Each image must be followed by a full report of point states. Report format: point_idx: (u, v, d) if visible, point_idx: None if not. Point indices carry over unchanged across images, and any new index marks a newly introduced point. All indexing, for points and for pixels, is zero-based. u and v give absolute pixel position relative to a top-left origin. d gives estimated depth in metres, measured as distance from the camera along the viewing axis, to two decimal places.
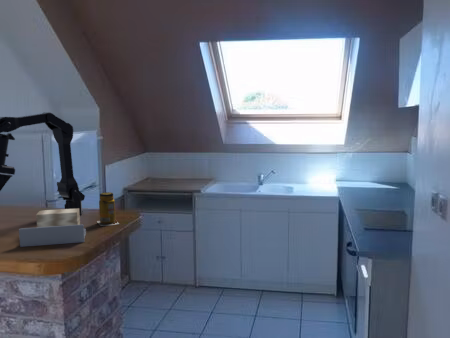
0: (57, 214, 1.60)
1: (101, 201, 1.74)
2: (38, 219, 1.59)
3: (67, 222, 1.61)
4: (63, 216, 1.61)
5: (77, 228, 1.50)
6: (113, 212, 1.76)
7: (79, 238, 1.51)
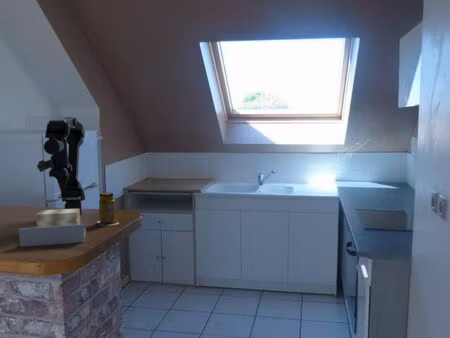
0: (56, 214, 1.60)
1: (101, 201, 1.74)
2: (38, 219, 1.59)
3: (67, 222, 1.61)
4: (63, 216, 1.61)
5: (77, 228, 1.50)
6: (113, 212, 1.76)
7: (79, 238, 1.51)
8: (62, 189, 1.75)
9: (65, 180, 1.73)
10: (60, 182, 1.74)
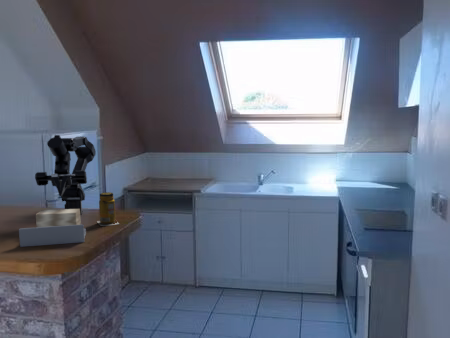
0: (56, 214, 1.60)
1: (101, 201, 1.74)
2: (37, 219, 1.60)
3: (66, 222, 1.61)
4: (62, 216, 1.60)
5: (77, 228, 1.50)
6: (113, 212, 1.76)
7: (79, 238, 1.51)
8: None
9: (55, 183, 1.71)
10: (57, 188, 1.72)
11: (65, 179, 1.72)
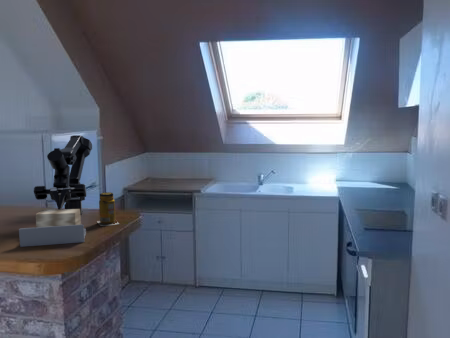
0: (56, 214, 1.60)
1: (101, 201, 1.74)
2: (37, 218, 1.60)
3: (66, 222, 1.61)
4: (61, 216, 1.60)
5: (77, 228, 1.50)
6: (113, 212, 1.76)
7: (79, 238, 1.51)
8: None
9: (54, 197, 1.68)
10: (56, 202, 1.69)
11: (64, 193, 1.69)
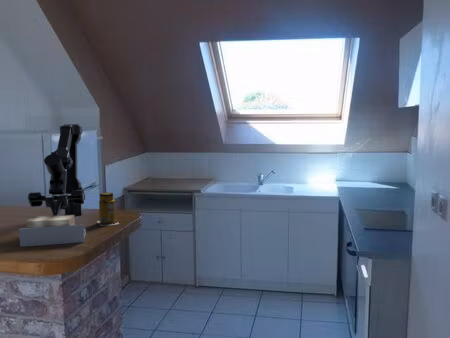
0: (48, 221, 1.50)
1: (101, 201, 1.74)
2: (28, 226, 1.50)
3: None
4: (54, 223, 1.50)
5: (77, 228, 1.50)
6: (113, 212, 1.76)
7: (79, 238, 1.51)
8: (53, 215, 1.57)
9: (49, 204, 1.58)
10: None
11: (60, 200, 1.59)
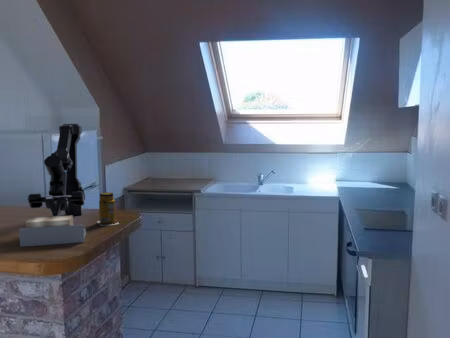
0: (48, 222, 1.49)
1: (101, 201, 1.74)
2: (28, 227, 1.48)
3: None
4: (55, 224, 1.50)
5: (77, 228, 1.50)
6: (113, 212, 1.76)
7: (79, 238, 1.51)
8: None
9: (50, 206, 1.58)
10: None
11: (60, 201, 1.58)
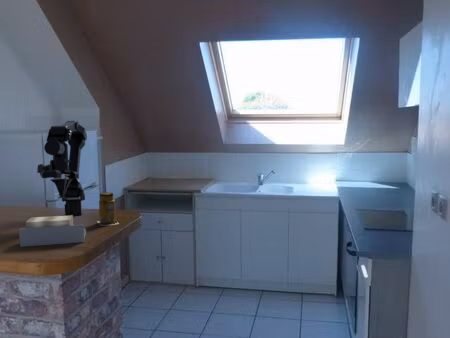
0: (48, 222, 1.49)
1: (101, 201, 1.74)
2: (28, 227, 1.48)
3: None
4: (54, 224, 1.50)
5: (77, 228, 1.50)
6: (113, 212, 1.76)
7: (79, 238, 1.51)
8: (61, 194, 1.73)
9: (63, 185, 1.72)
10: (58, 187, 1.72)
11: (69, 182, 1.75)
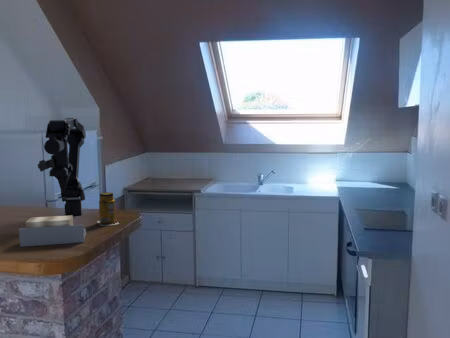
0: (48, 222, 1.49)
1: (101, 201, 1.74)
2: (28, 227, 1.48)
3: None
4: (54, 224, 1.50)
5: (77, 228, 1.50)
6: (113, 212, 1.76)
7: (79, 238, 1.51)
8: (62, 189, 1.76)
9: (65, 180, 1.74)
10: (60, 182, 1.74)
11: (69, 175, 1.78)
